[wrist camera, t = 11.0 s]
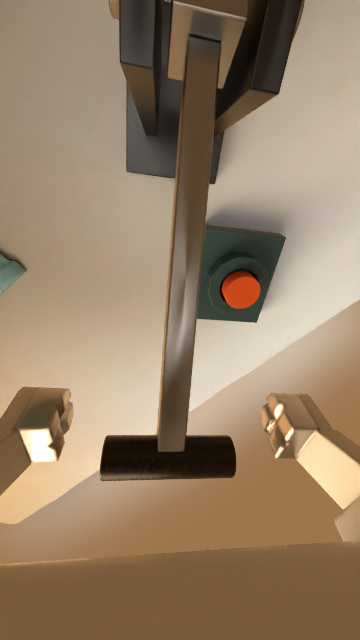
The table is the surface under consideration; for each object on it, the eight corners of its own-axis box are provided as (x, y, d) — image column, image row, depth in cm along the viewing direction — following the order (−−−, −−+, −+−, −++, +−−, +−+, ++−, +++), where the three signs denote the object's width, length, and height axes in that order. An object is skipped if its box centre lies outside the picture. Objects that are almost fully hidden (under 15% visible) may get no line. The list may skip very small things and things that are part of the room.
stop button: (249, 302, 26) (254, 310, 25) (218, 300, 26) (222, 307, 24) (259, 271, 24) (265, 278, 23) (225, 268, 24) (230, 275, 22)
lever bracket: (212, 183, 22) (290, 198, 9) (127, 171, 21) (76, 168, 8) (238, 28, 17) (509, -465, 4) (128, 3, 16) (-11, -781, 3)
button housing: (252, 315, 31) (262, 331, 28) (189, 311, 30) (192, 326, 27) (279, 233, 25) (295, 241, 23) (203, 224, 24) (209, 231, 21)
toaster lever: (219, 452, 11) (238, 496, 9) (108, 453, 11) (96, 502, 8) (268, 15, 9) (311, -84, 7) (129, -20, 8) (120, -143, 6)
